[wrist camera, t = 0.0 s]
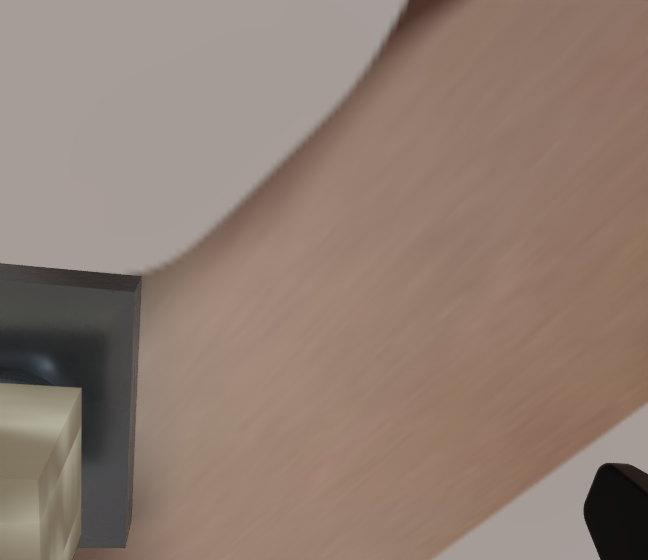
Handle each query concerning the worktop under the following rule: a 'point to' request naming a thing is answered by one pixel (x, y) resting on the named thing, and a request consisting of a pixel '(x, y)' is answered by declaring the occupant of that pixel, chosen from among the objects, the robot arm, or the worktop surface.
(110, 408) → the post stand
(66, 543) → the collar
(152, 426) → the worktop surface
